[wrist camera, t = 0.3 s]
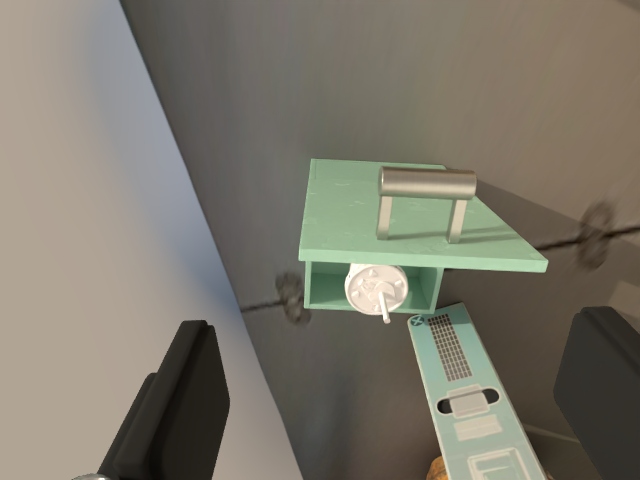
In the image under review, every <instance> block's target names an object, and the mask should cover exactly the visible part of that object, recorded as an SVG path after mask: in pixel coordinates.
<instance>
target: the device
mask: <svg viewBox="0 0 640 480" xmlns="http://www.w3.org/2000/svg"><path fill="white" fill-rule="evenodd" d="M408 327H409V331H410V334H411V338H412V342H413V346H414V350H415V353H416V357H417V361H418V365H419V369H420V372H421V376H422V380H423V384H424V388H425V392H426V395H427V399H428V403H429V407H430V411H431V414H432V418H433V422H434V426H435V430H436V433H437V437H438V441H439V445H440V449H441V453H442V456H443V460H444V464H445V468H446V472H447V475H448V479H449V480H548V479H547V477H546V475H545V473H544V470H543V468H542V466H541V464H540V462H539V460H538V458H537V456H536V454H535V452H534V450H533V447H532V445H531V443H530V441H529V439H528V437H527V435H526V433H525V431H524V429H523V426H522V424H521V422H520V420H519V418H518V416H517V414H516V412H515V410H514V408H513V406H512V403H511V401H510V399H509V397H508V395H507V393H506V391H505V389H504V387H503V385H502V382H501V380H500V378H499V376H498V374H497V372H496V370H495V368H494V366H493V364H492V362H491V359H490V357H489V355H488V353H487V351H486V349H485V347H484V345H483V343H482V341H481V338H480V336H479V334H478V332H477V330H476V328H475V326H474V324H473V322H472V320H471V318H470V315H469V313H468V311H467V309H466V307H465V305H464V303H463V302H461V303H458V304H454V305H451V306H447V307H444V308H440V309H437V310H435V311H434V314H419V315H416V316H412V317H411V318H409V320H408Z"/></svg>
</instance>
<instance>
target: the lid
mask: <svg viewBox="0 0 640 480" xmlns="http://www.w3.org/2000/svg"><path fill="white" fill-rule="evenodd" d="M476 185H477V179H476V174H475V172H474V171H471V170H451V169H431V168H411V167H391V166H381V167H380V170H379V175H378V182H370V181H350V180H330V179H310V178H309V181H308V189H307V196H306V203H305V211H304V218H303V225H302V233H301V240H300V248H299V261H313V262H334V263H355V264H376V265H397V266H417V267H438V268H459V269H480V270H501V271H522V272H542V273H545V272H546V268H547V265H548V260H547V259H546V258H545V257H543V256H542V255H541V254H540V253H539V252H538V251H537V250H536V249H534V248H533V247H532V246H531V245H530V244H529V243H528V242H527V241H525V240H524V239H523V238H522V237H521V236H520V235H519V234H518V233H516V232H515V231H514V230H513V229H512V228H511V227H510V226H509V225H507V224H506V223H505V222H504V221H503V220H502V219H501V218H500V217H498V216H497V215H496V214H495V213H494V212H493V211H492V210H490V209H489V208H488V207H487V206H486V205H485V204H484V203H483V202H481V201H480V200H479V199H478V198H477V197H476V196H475V191H476Z"/></svg>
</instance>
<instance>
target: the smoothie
mask: <svg viewBox="0 0 640 480" xmlns="http://www.w3.org/2000/svg"><path fill="white" fill-rule="evenodd" d="M345 292H346V296H347V299H348V301H349V303H350V304H351V305H352V306H353V307H354V308H355V309H356V310H358V311H360V312H362V313H365V314H369V315H382V314H383V318H384V322H385V323H389V322H390V318H389V312H391V311H393V310H395V309H397V308H398V307H399V306H400V305H401V304H402V303H403V302H404V300H405V299H406V297H407V294H408V282H407V277H406V275H405V272H404V271H403V270H402V268H401V267H400V266H397V265H376V264H355V263H351V264H350V272H349V274H348V276H347V277H346V281H345Z"/></svg>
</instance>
